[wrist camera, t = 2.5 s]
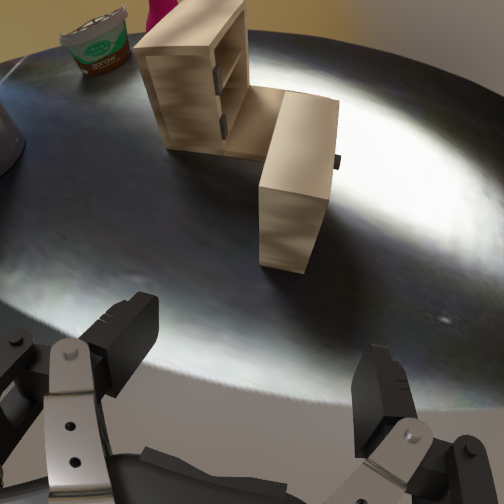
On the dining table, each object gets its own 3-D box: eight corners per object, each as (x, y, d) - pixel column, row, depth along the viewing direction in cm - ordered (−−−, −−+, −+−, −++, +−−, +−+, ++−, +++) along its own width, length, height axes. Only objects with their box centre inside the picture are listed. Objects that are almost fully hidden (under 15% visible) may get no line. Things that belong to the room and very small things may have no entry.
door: (259, 265, 29) (258, 185, 18) (278, 184, 32) (285, 90, 21) (314, 276, 28) (346, 203, 17) (327, 193, 32) (352, 103, 21)
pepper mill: (202, 45, 44) (187, -59, 26) (167, 63, 42) (142, -47, 24) (177, 36, 47) (160, -58, 28) (144, 53, 45) (118, -45, 26)
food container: (82, 90, 41) (60, 44, 32) (75, 77, 44) (56, 35, 34) (147, 56, 44) (134, 8, 35) (136, 46, 46) (123, 2, 37)
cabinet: (166, 148, 35) (132, 48, 22) (200, 86, 39) (185, -2, 26) (320, 172, 33) (345, 62, 20) (329, 103, 37) (345, 10, 24)
